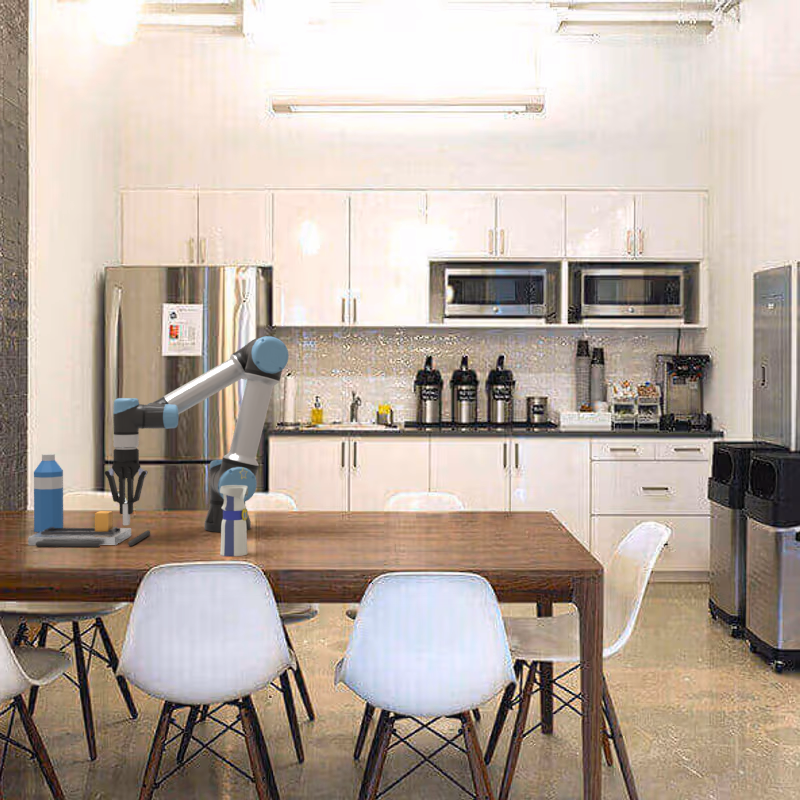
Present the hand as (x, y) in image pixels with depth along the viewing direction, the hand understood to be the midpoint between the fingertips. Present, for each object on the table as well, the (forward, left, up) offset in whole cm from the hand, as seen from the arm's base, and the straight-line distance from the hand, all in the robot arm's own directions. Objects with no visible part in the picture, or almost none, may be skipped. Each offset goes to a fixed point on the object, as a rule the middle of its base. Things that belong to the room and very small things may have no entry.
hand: (126, 524), depth 311 cm
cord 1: (+14, +11, -5) cm, 19 cm away
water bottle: (+31, -20, -5) cm, 37 cm away
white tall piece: (-37, +22, -5) cm, 43 cm away
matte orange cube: (+7, 0, -2) cm, 7 cm away
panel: (+14, 0, -5) cm, 15 cm away
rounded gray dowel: (-4, 0, -5) cm, 6 cm away
